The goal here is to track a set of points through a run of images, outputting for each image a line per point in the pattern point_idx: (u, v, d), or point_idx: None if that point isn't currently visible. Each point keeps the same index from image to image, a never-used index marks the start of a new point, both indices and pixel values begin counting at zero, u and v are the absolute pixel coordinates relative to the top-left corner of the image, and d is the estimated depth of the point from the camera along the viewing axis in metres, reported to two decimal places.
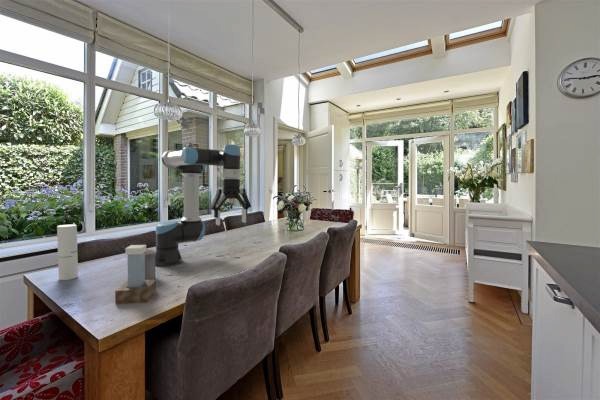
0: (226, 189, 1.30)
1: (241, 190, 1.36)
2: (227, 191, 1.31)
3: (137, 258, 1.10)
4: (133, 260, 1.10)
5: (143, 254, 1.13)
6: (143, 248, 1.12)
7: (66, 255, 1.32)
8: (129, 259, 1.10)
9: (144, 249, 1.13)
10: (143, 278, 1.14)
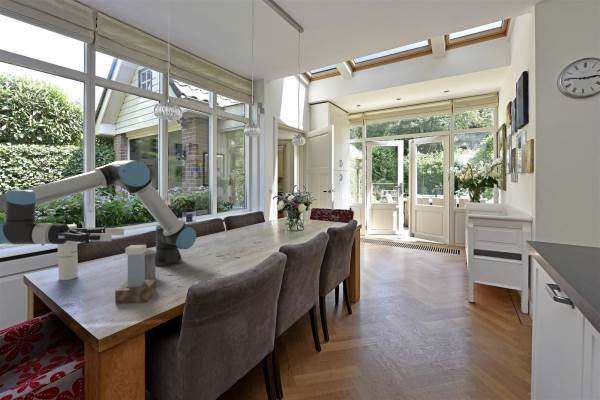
0: None
1: None
2: None
3: (137, 258, 1.10)
4: (133, 260, 1.10)
5: (143, 254, 1.13)
6: (143, 248, 1.12)
7: (66, 255, 1.32)
8: (129, 259, 1.10)
9: (144, 249, 1.13)
10: (143, 278, 1.14)
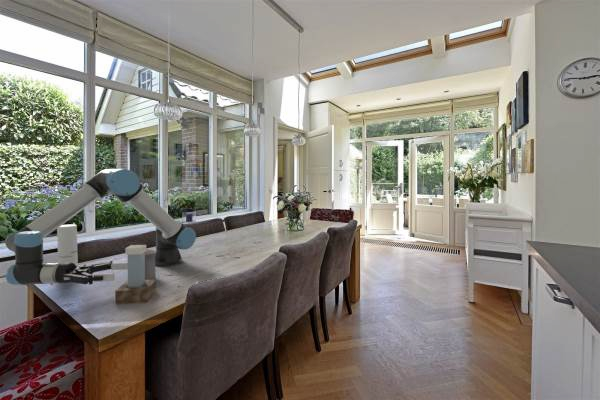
0: None
1: None
2: None
3: (137, 258, 1.10)
4: (133, 260, 1.10)
5: (143, 254, 1.13)
6: (143, 248, 1.12)
7: (66, 255, 1.32)
8: (129, 259, 1.10)
9: (144, 249, 1.13)
10: (143, 278, 1.14)
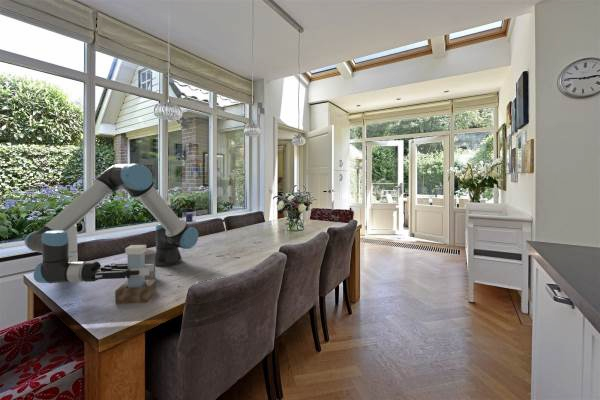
0: None
1: None
2: None
3: (137, 258, 1.10)
4: (133, 260, 1.10)
5: (143, 254, 1.13)
6: (143, 248, 1.12)
7: None
8: (129, 259, 1.10)
9: (144, 249, 1.13)
10: (143, 278, 1.14)
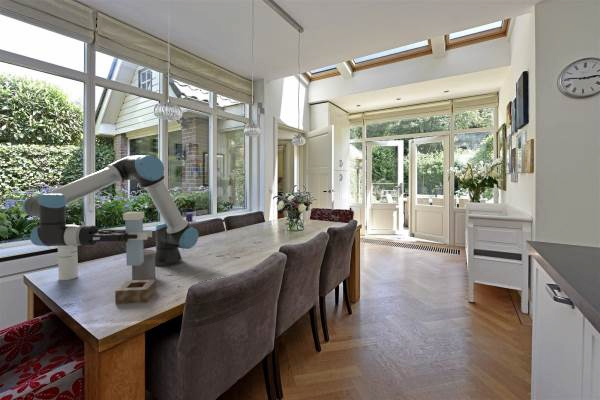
0: None
1: None
2: None
3: (135, 224, 1.09)
4: (131, 225, 1.09)
5: (141, 220, 1.12)
6: (141, 214, 1.11)
7: (66, 255, 1.32)
8: (127, 225, 1.08)
9: (142, 215, 1.12)
10: (141, 245, 1.13)
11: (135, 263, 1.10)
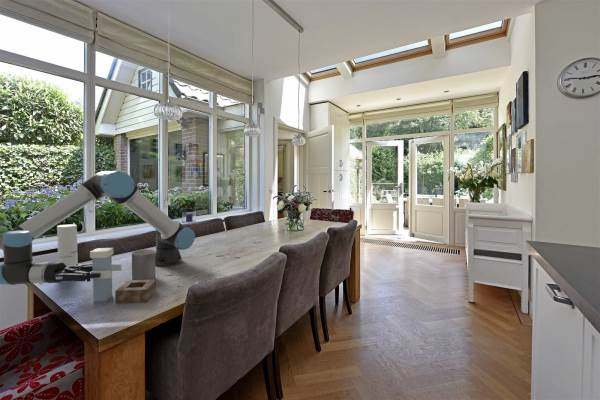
0: None
1: None
2: None
3: (102, 262, 1.08)
4: (98, 263, 1.08)
5: (109, 257, 1.11)
6: (109, 251, 1.10)
7: (66, 255, 1.32)
8: (94, 263, 1.07)
9: (110, 252, 1.11)
10: (110, 282, 1.12)
11: None
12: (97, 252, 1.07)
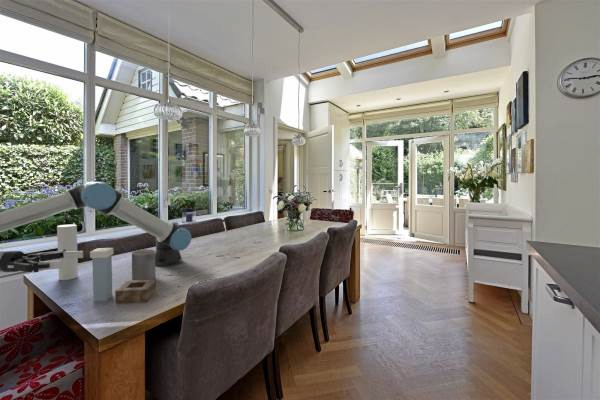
0: None
1: None
2: None
3: (102, 261, 1.08)
4: (98, 263, 1.08)
5: (110, 257, 1.11)
6: (109, 251, 1.10)
7: None
8: (94, 263, 1.07)
9: (110, 252, 1.11)
10: (110, 282, 1.12)
11: None
12: (97, 252, 1.07)
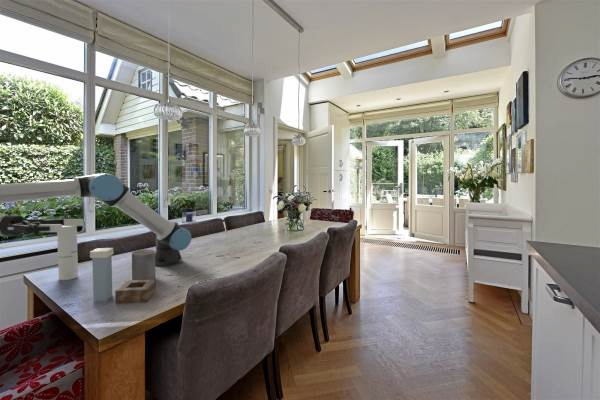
0: None
1: None
2: None
3: (102, 261, 1.08)
4: (98, 263, 1.08)
5: (110, 257, 1.11)
6: (109, 251, 1.10)
7: (66, 255, 1.32)
8: (94, 263, 1.07)
9: (110, 252, 1.11)
10: (110, 282, 1.12)
11: None
12: (97, 252, 1.07)
